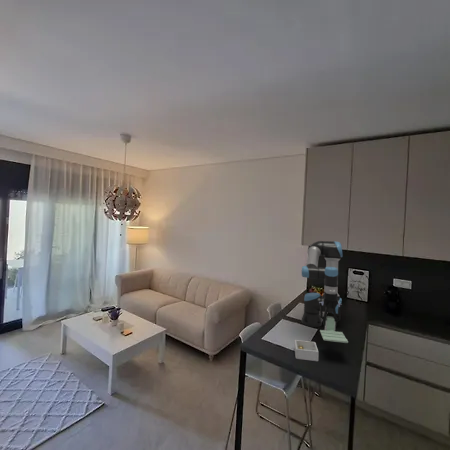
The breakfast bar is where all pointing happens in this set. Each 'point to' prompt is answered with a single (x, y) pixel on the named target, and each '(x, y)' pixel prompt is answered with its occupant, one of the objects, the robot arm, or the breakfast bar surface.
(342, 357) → the breakfast bar surface
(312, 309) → the robot arm
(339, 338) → the green stepped block
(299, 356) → the tub
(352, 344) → the breakfast bar surface
